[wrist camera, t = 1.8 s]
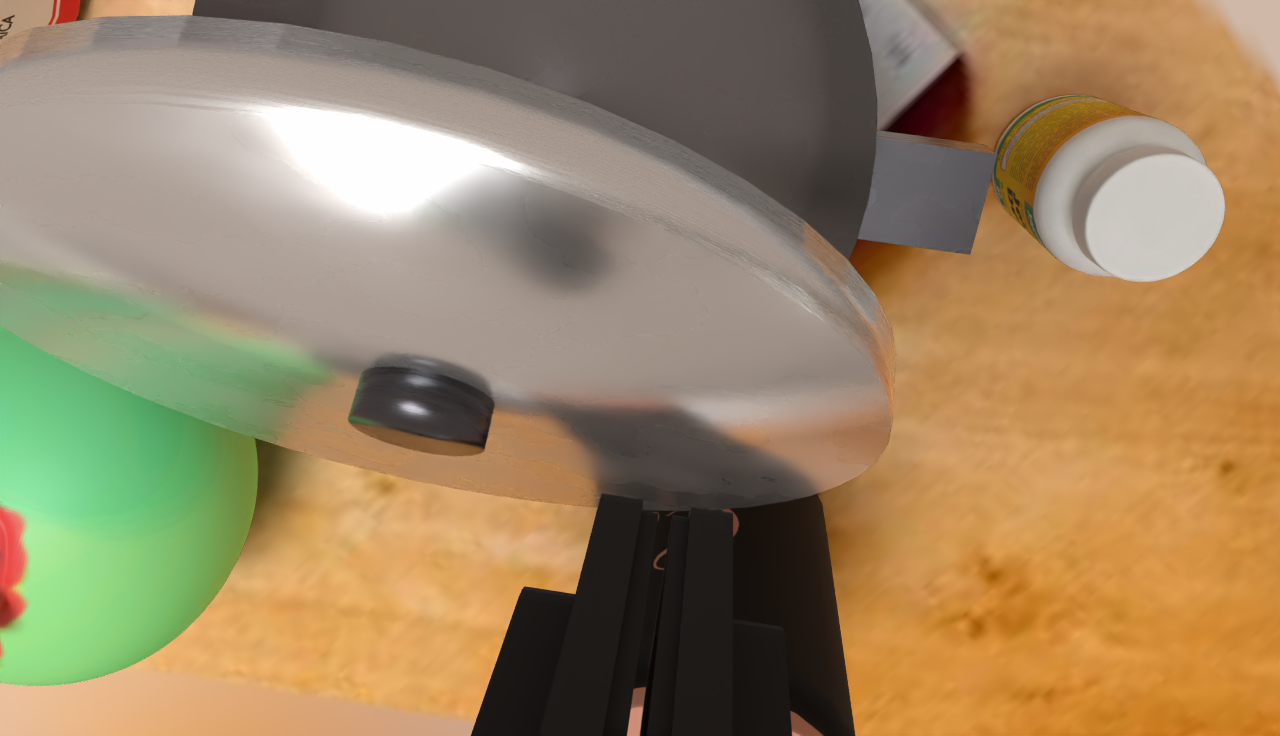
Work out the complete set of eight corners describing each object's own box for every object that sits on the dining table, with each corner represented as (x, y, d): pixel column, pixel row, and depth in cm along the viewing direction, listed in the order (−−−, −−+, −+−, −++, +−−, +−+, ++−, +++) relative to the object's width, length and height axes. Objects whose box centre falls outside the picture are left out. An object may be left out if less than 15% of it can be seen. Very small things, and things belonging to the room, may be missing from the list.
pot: (986, -140, 32) (1109, -198, 21) (865, 368, 40) (909, 514, 30) (256, -226, 34) (20, -322, 23) (281, 281, 42) (116, 390, 31)
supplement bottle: (1160, 144, 36) (1295, 200, 27) (1059, 252, 38) (1154, 337, 29) (1055, 63, 35) (1158, 93, 26) (958, 177, 37) (1024, 241, 28)
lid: (1090, 130, 11) (1095, 309, 10) (803, 501, 30) (796, 574, 29) (-450, -74, 12) (-565, 72, 11) (212, 408, 31) (188, 477, 30)
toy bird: (266, 602, 50) (89, 834, 36) (-31, 486, 49) (-325, 681, 35) (345, 322, 42) (161, 484, 29) (-2, 179, 41) (-359, 278, 28)
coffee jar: (736, 378, 41) (729, 645, 25) (868, 540, 44) (940, 877, 28) (562, 494, 45) (456, 795, 28) (694, 638, 48) (666, 988, 31)
